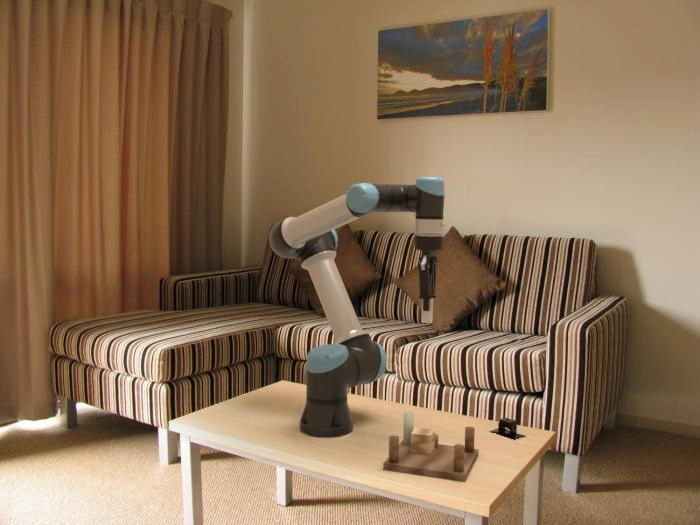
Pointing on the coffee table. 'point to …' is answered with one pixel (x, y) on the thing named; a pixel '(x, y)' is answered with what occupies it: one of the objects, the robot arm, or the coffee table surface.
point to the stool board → (434, 458)
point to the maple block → (422, 441)
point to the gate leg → (408, 427)
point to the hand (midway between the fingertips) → (426, 322)
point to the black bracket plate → (509, 425)
